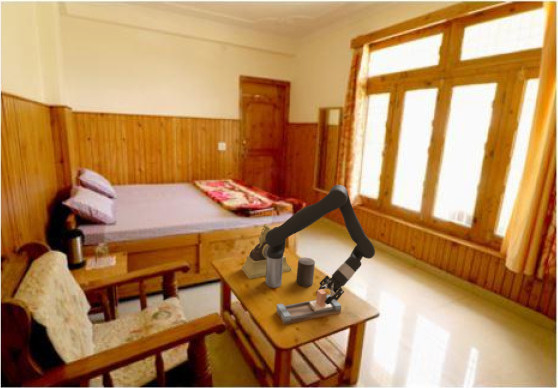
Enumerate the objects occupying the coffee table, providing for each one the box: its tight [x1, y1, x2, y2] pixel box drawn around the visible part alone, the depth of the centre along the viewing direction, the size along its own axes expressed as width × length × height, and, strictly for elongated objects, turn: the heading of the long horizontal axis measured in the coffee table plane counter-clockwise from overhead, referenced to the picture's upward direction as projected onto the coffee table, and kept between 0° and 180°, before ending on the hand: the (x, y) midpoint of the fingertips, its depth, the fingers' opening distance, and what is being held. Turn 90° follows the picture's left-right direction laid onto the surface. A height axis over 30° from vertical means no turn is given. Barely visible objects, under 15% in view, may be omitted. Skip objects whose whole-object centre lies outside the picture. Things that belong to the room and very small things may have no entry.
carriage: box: [309, 289, 332, 311], centre depth 144 cm, size 7×9×8 cm
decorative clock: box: [241, 223, 292, 280], centre depth 180 cm, size 28×13×30 cm, turn 117°
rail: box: [276, 294, 342, 325], centre depth 143 cm, size 10×30×4 cm, turn 112°
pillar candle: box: [295, 256, 316, 288], centre depth 169 cm, size 10×10×15 cm
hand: (321, 298), depth 144 cm, fingers open, 8 cm apart
